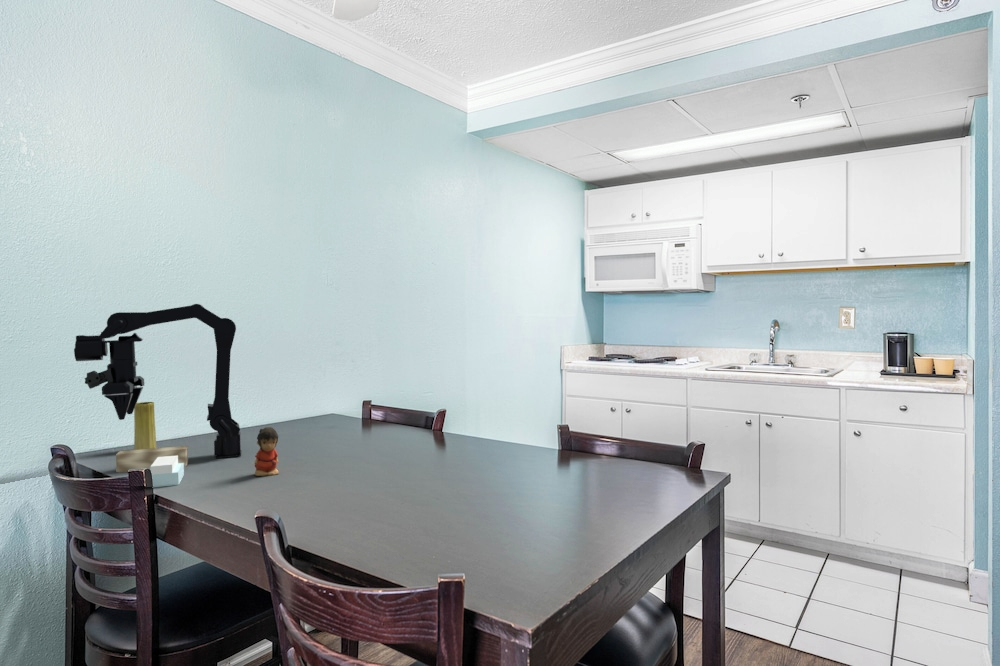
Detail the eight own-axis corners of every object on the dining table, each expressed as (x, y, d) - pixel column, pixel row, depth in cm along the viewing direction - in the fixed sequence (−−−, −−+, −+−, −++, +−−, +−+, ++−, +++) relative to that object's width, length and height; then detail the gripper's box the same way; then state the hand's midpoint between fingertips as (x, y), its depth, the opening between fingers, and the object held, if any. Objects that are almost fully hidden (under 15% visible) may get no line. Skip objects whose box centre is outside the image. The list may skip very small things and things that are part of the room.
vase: (161, 447, 181) (160, 401, 180) (147, 452, 175) (146, 404, 174) (143, 447, 181) (141, 401, 181) (128, 452, 175) (127, 404, 175)
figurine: (248, 475, 149) (247, 428, 148) (266, 470, 154) (265, 424, 153) (265, 478, 146) (265, 430, 145) (283, 472, 151) (283, 426, 150)
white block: (184, 474, 150) (183, 454, 150) (178, 484, 141) (178, 464, 141) (152, 477, 147) (152, 457, 147) (144, 488, 138) (144, 466, 138)
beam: (188, 463, 162) (187, 445, 162) (186, 467, 158) (185, 448, 158) (120, 469, 156) (119, 451, 156) (116, 473, 152) (116, 454, 152)
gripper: (97, 358, 164) (100, 414, 165) (76, 363, 147) (79, 425, 147) (143, 356, 168) (146, 410, 169) (127, 361, 151) (131, 421, 151)
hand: (125, 416), depth 159 cm, fingers open, 9 cm apart
